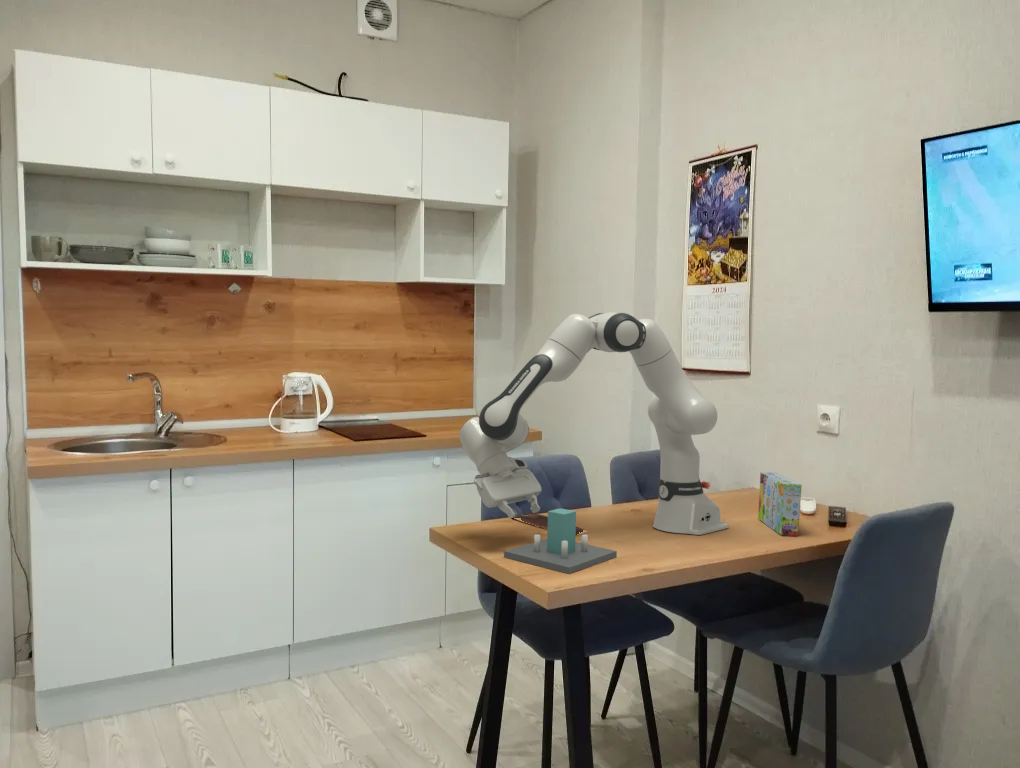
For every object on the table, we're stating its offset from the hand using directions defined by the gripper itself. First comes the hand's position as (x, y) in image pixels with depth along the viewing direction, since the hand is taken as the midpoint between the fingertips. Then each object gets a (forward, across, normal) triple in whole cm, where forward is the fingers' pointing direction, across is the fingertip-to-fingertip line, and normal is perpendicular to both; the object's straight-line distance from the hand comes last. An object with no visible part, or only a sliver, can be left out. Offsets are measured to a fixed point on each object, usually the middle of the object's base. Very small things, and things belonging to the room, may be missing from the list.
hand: (525, 514), depth 203 cm
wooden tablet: (-1, +25, +15) cm, 29 cm away
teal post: (+13, 0, -3) cm, 14 cm away
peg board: (+14, 0, -2) cm, 15 cm away
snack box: (+34, +71, -21) cm, 81 cm away
